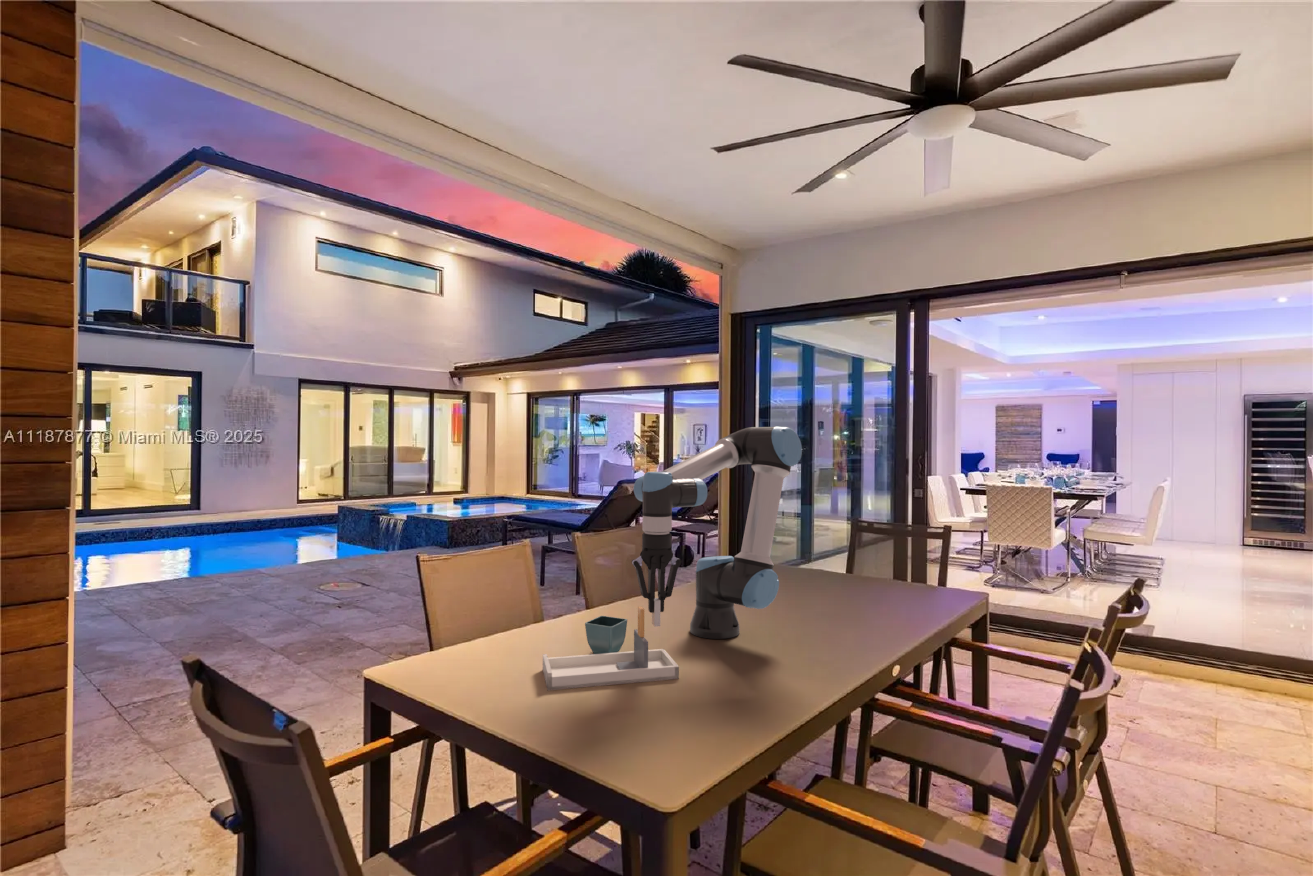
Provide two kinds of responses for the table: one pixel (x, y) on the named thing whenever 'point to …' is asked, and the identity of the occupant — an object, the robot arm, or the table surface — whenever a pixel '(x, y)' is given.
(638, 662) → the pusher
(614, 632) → the flower pot
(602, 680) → the white tray
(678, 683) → the table surface
